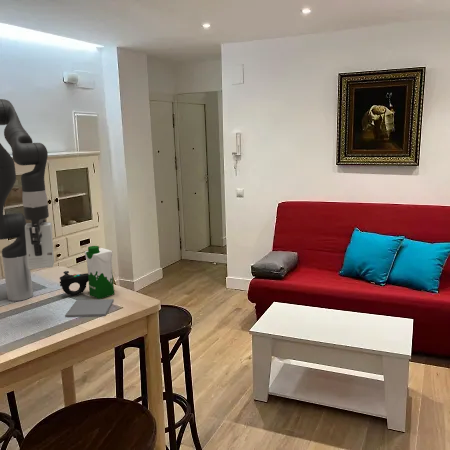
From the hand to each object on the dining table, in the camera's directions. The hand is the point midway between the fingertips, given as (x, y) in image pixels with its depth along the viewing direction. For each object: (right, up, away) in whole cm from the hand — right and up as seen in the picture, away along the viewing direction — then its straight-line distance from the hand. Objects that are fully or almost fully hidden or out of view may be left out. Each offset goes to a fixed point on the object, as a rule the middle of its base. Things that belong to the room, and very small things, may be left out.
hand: (40, 252), depth 154 cm
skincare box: (0, -5, +1) cm, 5 cm away
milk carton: (+14, -18, +26) cm, 35 cm away
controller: (+4, -18, +27) cm, 33 cm away
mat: (+13, -21, +12) cm, 28 cm away
